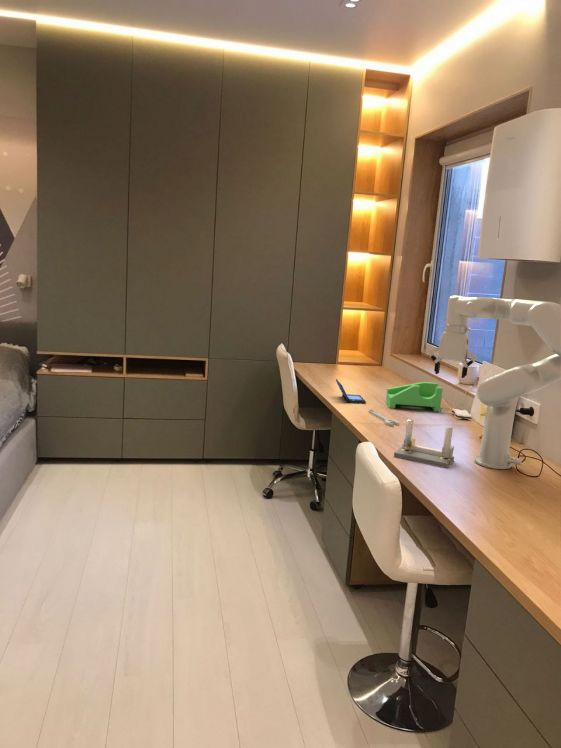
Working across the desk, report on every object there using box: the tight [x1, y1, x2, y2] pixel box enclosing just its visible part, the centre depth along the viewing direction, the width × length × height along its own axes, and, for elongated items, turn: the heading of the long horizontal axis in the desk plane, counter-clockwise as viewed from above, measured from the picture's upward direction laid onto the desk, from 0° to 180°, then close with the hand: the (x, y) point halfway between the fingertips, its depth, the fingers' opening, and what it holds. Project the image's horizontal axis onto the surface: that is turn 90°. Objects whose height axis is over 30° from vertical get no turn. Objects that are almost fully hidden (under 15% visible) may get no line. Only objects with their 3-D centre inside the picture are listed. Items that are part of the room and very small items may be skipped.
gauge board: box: [393, 425, 455, 469], centre depth 222 cm, size 19×10×13 cm, turn 62°
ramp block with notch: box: [385, 381, 443, 412], centre depth 305 cm, size 24×13×12 cm, turn 88°
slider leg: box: [402, 418, 416, 450], centre depth 227 cm, size 3×6×11 cm, turn 152°
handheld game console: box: [335, 378, 367, 405], centre depth 311 cm, size 16×13×9 cm
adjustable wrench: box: [368, 409, 400, 427], centre depth 278 cm, size 25×6×2 cm, turn 12°
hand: (450, 375), depth 233 cm, fingers open, 9 cm apart
